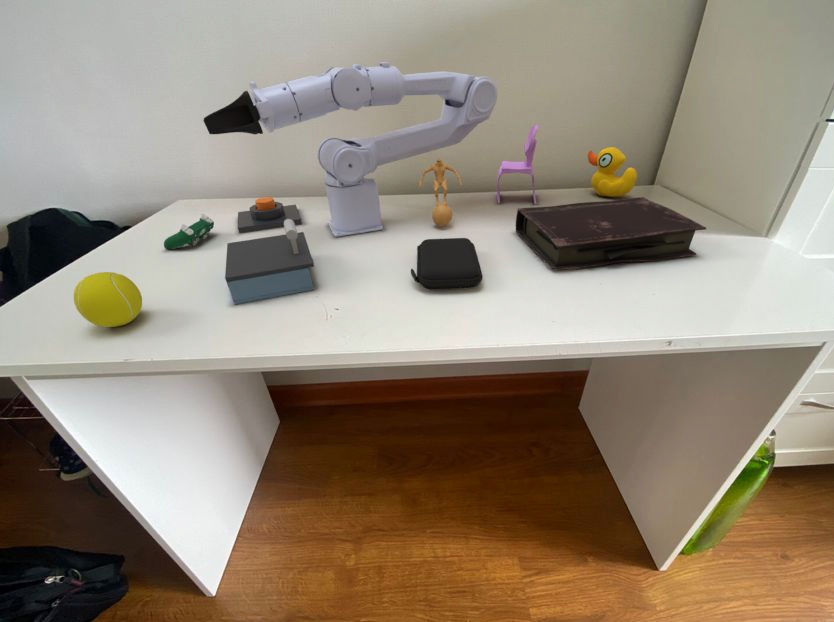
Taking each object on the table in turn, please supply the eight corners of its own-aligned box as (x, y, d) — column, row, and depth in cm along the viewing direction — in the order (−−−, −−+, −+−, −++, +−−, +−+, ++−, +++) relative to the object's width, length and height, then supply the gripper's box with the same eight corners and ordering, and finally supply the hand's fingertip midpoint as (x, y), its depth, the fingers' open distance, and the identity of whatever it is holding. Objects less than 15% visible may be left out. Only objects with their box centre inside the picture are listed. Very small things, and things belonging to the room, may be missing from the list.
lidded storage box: (303, 256, 73) (299, 236, 71) (313, 290, 63) (308, 268, 61) (235, 267, 70) (228, 246, 68) (234, 304, 60) (226, 282, 58)
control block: (296, 209, 93) (293, 196, 91) (301, 224, 85) (298, 209, 83) (239, 217, 89) (235, 203, 88) (239, 233, 82) (234, 218, 80)
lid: (304, 235, 71) (298, 209, 68) (314, 266, 61) (308, 237, 58) (228, 246, 67) (219, 219, 65) (226, 281, 58) (215, 251, 55)
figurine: (421, 229, 80) (416, 161, 74) (421, 223, 85) (416, 158, 80) (464, 226, 80) (463, 157, 75) (461, 220, 85) (459, 156, 80)
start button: (275, 204, 87) (273, 196, 86) (276, 209, 85) (274, 201, 84) (257, 207, 86) (254, 198, 85) (257, 212, 84) (255, 203, 83)
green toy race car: (178, 260, 77) (190, 240, 73) (159, 245, 75) (171, 224, 72) (209, 241, 84) (221, 221, 80) (193, 227, 83) (204, 207, 79)
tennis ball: (86, 342, 53) (54, 293, 49) (97, 315, 58) (69, 269, 54) (148, 328, 55) (123, 281, 51) (153, 304, 60) (131, 259, 56)
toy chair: (496, 193, 98) (501, 122, 89) (534, 194, 97) (543, 122, 88) (495, 205, 92) (500, 129, 83) (536, 206, 91) (545, 129, 82)
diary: (513, 231, 79) (516, 205, 76) (634, 219, 83) (641, 193, 80) (554, 275, 65) (559, 244, 62) (699, 258, 68) (710, 228, 65)
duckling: (576, 194, 97) (584, 147, 91) (585, 188, 100) (594, 142, 94) (626, 203, 91) (638, 153, 85) (634, 196, 94) (646, 148, 88)
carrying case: (411, 253, 73) (410, 295, 61) (410, 236, 71) (409, 276, 59) (473, 250, 73) (483, 292, 61) (473, 234, 71) (484, 273, 59)
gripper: (274, 79, 71) (193, 100, 67) (289, 67, 59) (191, 92, 56) (292, 125, 75) (215, 147, 71) (308, 122, 63) (218, 149, 59)
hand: (206, 126), depth 64 cm, fingers open, 7 cm apart
